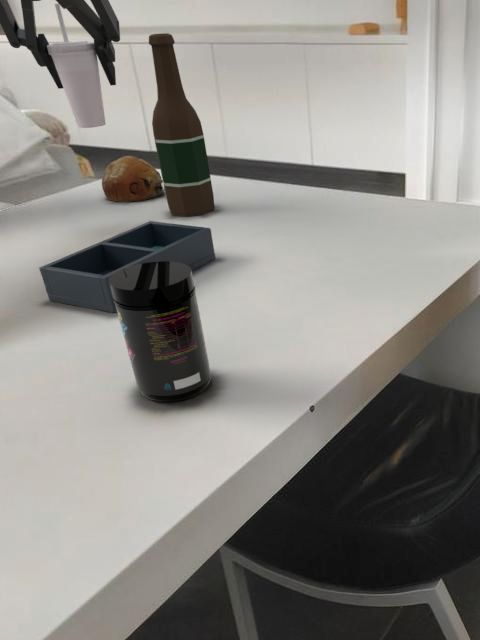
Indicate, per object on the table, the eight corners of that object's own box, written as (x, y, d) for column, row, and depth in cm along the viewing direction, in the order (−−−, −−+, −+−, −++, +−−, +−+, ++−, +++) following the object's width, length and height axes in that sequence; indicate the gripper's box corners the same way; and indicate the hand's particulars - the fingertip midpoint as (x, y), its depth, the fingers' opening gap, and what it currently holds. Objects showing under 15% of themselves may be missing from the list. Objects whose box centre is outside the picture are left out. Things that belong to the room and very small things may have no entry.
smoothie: (66, 124, 97) (34, 4, 89) (112, 120, 99) (85, 2, 91) (69, 131, 92) (35, 5, 84) (118, 126, 94) (89, 2, 86)
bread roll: (151, 206, 127) (130, 163, 125) (180, 187, 120) (158, 140, 118) (107, 220, 121) (84, 174, 118) (135, 200, 114) (111, 151, 111)
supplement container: (187, 362, 66) (164, 255, 60) (227, 384, 62) (207, 272, 56) (124, 388, 63) (93, 277, 57) (163, 413, 59) (134, 297, 53)
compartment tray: (49, 300, 81) (38, 267, 79) (156, 250, 95) (150, 220, 93) (114, 312, 77) (104, 278, 75) (215, 258, 91) (210, 227, 89)
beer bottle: (182, 220, 106) (147, 37, 92) (159, 211, 111) (122, 35, 97) (225, 209, 110) (198, 32, 96) (200, 201, 115) (171, 31, 101)
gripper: (-85, -47, 71) (16, 106, 94) (103, -57, 72) (158, 97, 95) (-86, -108, 73) (15, 58, 95) (100, -117, 74) (155, 50, 96)
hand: (86, 78), depth 95 cm, fingers closed on smoothie, 6 cm apart
